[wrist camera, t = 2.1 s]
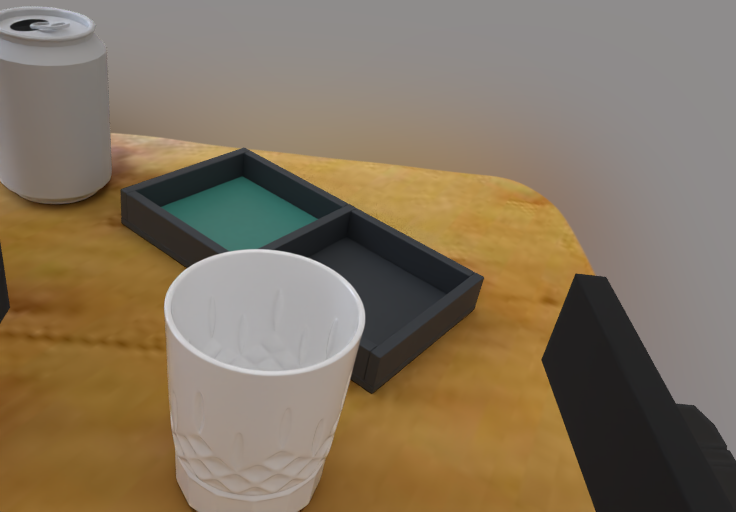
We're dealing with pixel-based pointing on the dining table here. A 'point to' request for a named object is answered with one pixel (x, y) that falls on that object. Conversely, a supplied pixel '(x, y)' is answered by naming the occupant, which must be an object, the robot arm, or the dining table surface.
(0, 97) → the can
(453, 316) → the divided tray
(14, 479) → the dining table surface
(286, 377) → the white cup
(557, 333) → the robot arm
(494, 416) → the dining table surface
